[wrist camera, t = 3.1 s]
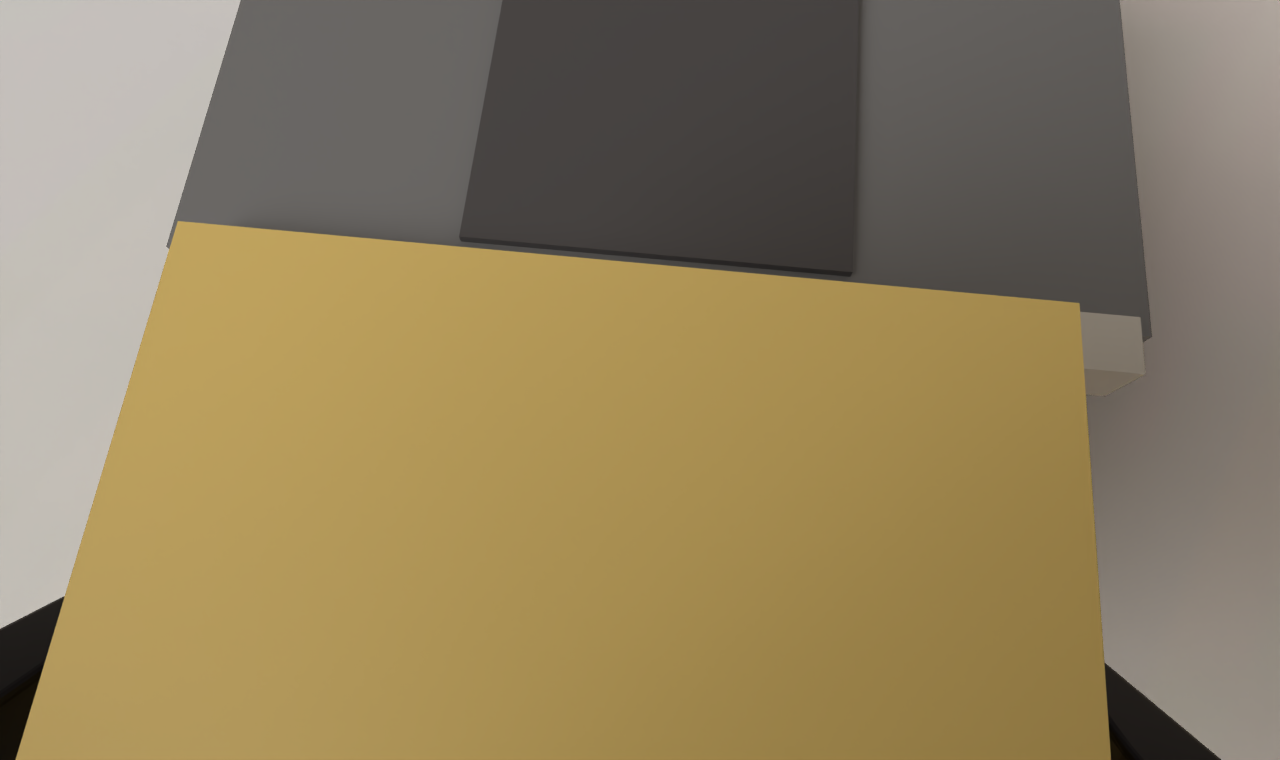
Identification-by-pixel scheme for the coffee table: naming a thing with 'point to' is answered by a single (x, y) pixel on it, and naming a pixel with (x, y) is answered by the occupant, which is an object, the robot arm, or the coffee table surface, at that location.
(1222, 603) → the coffee table surface
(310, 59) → the grey boxy piece
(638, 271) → the mustard yellow box
